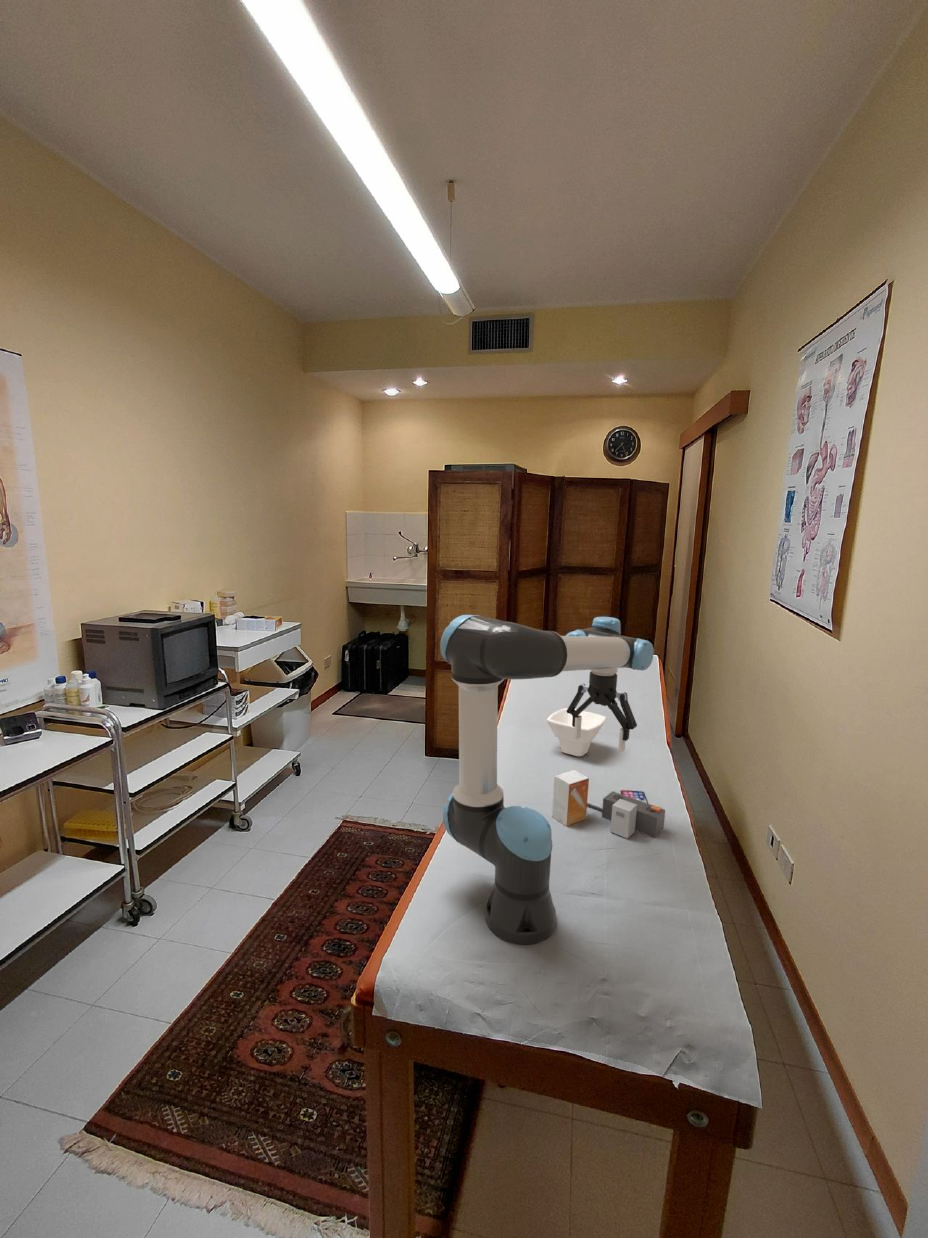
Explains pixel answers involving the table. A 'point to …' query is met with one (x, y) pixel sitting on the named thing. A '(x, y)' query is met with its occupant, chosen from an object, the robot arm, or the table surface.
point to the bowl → (565, 730)
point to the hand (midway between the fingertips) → (598, 744)
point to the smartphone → (635, 795)
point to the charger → (623, 818)
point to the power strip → (646, 815)
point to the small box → (570, 797)
